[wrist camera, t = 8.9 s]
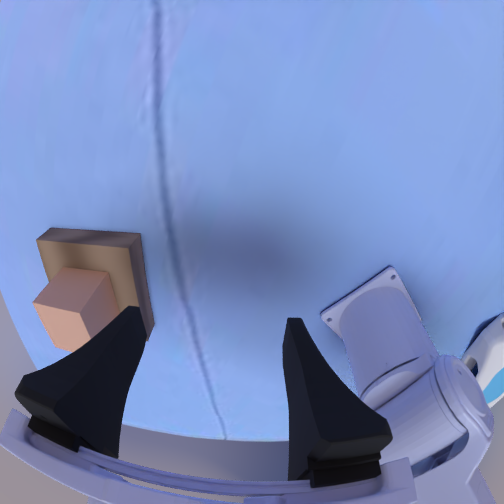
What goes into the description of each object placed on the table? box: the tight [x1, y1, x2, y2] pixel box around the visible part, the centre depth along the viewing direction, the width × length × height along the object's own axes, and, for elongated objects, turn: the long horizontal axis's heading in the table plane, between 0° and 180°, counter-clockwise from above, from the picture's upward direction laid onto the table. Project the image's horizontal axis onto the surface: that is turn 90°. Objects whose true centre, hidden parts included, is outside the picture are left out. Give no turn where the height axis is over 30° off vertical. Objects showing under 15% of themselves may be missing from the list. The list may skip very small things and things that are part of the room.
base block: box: [36, 228, 155, 341], centre depth 22 cm, size 10×10×3 cm
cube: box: [33, 267, 120, 352], centre depth 19 cm, size 5×5×5 cm
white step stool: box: [461, 312, 504, 408], centre depth 29 cm, size 21×28×6 cm
